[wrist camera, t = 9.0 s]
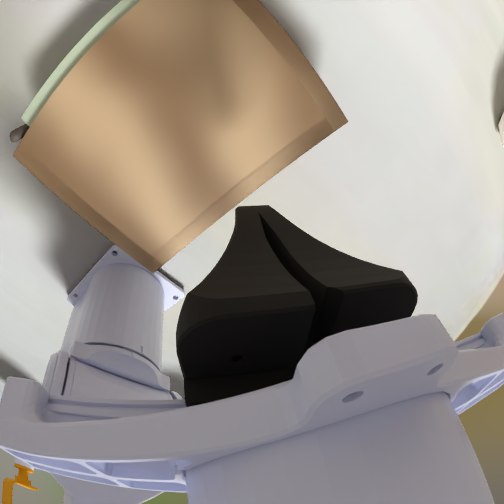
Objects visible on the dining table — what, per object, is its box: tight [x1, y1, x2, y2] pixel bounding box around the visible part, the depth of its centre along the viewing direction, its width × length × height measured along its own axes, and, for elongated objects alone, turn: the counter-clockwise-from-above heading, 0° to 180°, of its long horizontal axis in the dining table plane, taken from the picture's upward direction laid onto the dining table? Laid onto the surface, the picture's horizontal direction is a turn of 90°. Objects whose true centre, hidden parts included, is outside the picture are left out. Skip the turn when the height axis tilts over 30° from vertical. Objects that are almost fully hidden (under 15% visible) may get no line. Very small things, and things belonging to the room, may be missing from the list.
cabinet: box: [10, 0, 348, 273], centre depth 15 cm, size 15×13×5 cm
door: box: [21, 0, 141, 127], centre depth 12 cm, size 13×1×5 cm, turn 127°
